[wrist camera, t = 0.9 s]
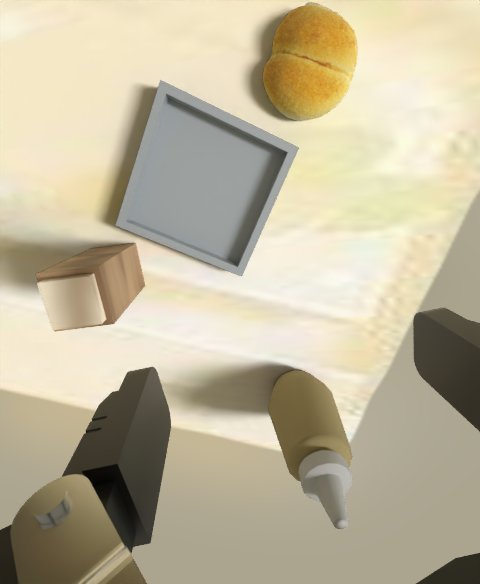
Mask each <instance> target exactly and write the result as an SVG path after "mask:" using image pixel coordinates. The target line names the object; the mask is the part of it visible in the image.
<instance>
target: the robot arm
mask: <svg viewBox="0 0 480 584" xmlns="http://www.w3.org/2000/svg"><path fill="white" fill-rule="evenodd" d="M413 324H414V362H415V366H416V368H417V370H418V372H419V374H420V375H421V377H422V378H423V379H424V380H425V381H426V382H427V383H428V384H430V385H431V387H433V388H434V389H435V390H436V391H437V392H438V393H439V394H440V395H441V396H442V397H443V398H444V399H445V400H447V401H448V402H449V403H450V404H451V405H452V406H453V407H454V408H455V409H456V410H457V411H458V412H459V413H461V414H462V415H463V416H464V417H465V418H466V419H467V420H468V421H469V422H470V423H471V424H472V425H474V427H475V428H477V429H478V430H479V431H480V323H477V322H474V321H470V320H467V319H465V318H463V317H461V316H459V315H458V314H456V313H454V312H452V311H450V310H448V309H446V308H438V309H433V310H429V311H424V312H419V313H417V314H416V315H415V316H414V322H413ZM170 429H171V419H170V412H169V408H168V405H167V402H166V398H165V395H164V392H163V389H162V386H161V383H160V380H159V376H158V373H157V371H156V369H155V368H154V367H149V368H144V369H139V370H135V371H130V372H128V373H127V374H126V376H125V378H124V380H123V383H122V385H121V387H120V389H119V391H115V392H112V393H111V394H110V395H109V396H108V397H107V398H106V399H105V400H104V401H103V402H102V403H101V404H100V405H99V406H98V408H97V410H96V412H95V414H94V416H93V418H92V422H90V423H89V425H88V428H87V429H86V434H84V435H83V437H82V439H81V441H80V443H79V445H78V447H77V449H76V451H75V452H74V454H73V456H72V458H71V460H70V462H69V464H68V466H67V468H66V470H65V471H64V473H63V475H62V477H61V478H58V479H56V480H54V481H52V482H50V483H48V484H47V485H45V486H44V487H42V488H41V489H39V490H38V491H37V492H36V493H35V494H33V495H32V496H31V497H30V498H29V499H28V500H27V501H26V502H25V503H24V505H23V506H22V507H21V508H20V510H19V511H18V513H17V514H16V516H15V518H14V520H13V523H12V525H10V526H8V527H5V528H3V529H1V530H0V584H147V583H146V581H145V579H144V577H143V575H142V574H141V572H140V570H139V568H138V566H137V564H136V563H135V561H134V559H133V557H132V555H131V553H132V549H133V547H135V546H139V545H144V544H149V543H150V542H151V537H152V531H153V525H154V520H155V514H156V508H157V503H158V497H159V492H160V486H161V480H162V475H163V469H164V464H165V458H166V453H167V446H168V441H169V436H170ZM416 584H480V553H478V554H473V555H468V556H464V557H460V558H455V559H454V560H452V561H451V562H449V563H447V564H446V565H444V566H443V567H441V568H440V569H438V570H437V571H435V572H433V573H432V574H431V575H429V576H427V577H426V578H424V579H423V580H421V581H420V582H418V583H416Z"/></svg>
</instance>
